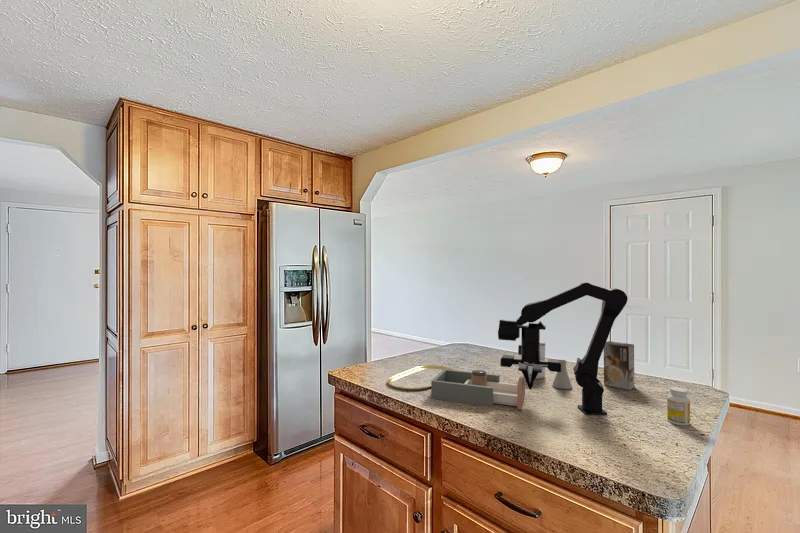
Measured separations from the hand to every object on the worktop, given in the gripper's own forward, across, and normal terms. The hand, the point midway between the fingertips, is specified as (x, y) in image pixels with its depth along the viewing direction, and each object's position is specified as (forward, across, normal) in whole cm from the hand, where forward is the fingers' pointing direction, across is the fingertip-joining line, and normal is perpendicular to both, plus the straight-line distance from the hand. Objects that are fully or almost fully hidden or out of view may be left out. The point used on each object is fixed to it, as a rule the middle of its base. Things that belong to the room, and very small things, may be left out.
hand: (530, 389), depth 126 cm
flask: (+5, -10, -23) cm, 25 cm away
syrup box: (+5, 0, -33) cm, 33 cm away
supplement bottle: (+5, -41, 0) cm, 41 cm away
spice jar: (+3, +17, 0) cm, 17 cm away
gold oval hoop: (+6, +42, -13) cm, 44 cm away
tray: (+5, +11, 0) cm, 12 cm away
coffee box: (+5, -30, -32) cm, 44 cm away
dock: (+5, +21, 0) cm, 22 cm away
